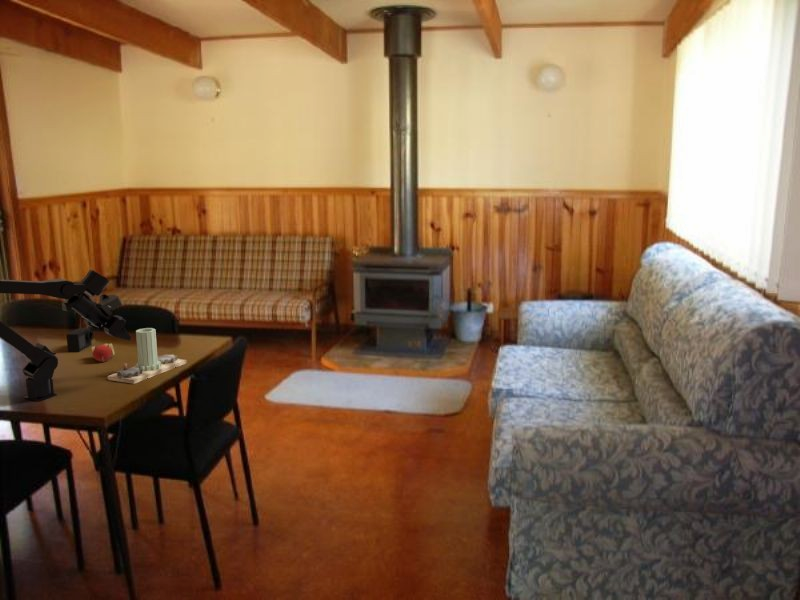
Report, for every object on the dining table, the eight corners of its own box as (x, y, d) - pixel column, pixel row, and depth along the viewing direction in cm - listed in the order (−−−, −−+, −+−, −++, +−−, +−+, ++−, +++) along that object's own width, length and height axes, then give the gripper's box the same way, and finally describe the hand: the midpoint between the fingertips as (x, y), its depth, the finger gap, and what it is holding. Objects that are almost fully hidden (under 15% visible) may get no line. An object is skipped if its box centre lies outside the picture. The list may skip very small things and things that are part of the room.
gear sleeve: (158, 370, 224) (155, 332, 221) (132, 371, 223) (129, 333, 220) (163, 363, 232) (161, 327, 229) (139, 364, 231) (136, 327, 228)
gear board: (134, 383, 214) (132, 369, 213) (107, 379, 218) (106, 365, 217) (186, 363, 237) (185, 350, 236) (162, 359, 241) (161, 347, 240)
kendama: (93, 355, 252) (88, 361, 235) (95, 339, 252) (90, 343, 235) (115, 357, 254) (111, 363, 237) (117, 341, 254) (114, 346, 237)
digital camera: (82, 352, 251) (80, 334, 250) (67, 352, 251) (66, 334, 250) (94, 345, 261) (93, 327, 260) (81, 345, 261) (79, 327, 260)
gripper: (118, 292, 206) (153, 322, 216) (91, 283, 218) (125, 312, 228) (93, 321, 202) (131, 350, 212) (67, 310, 214) (104, 338, 224)
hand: (123, 336), depth 219 cm, fingers open, 9 cm apart
